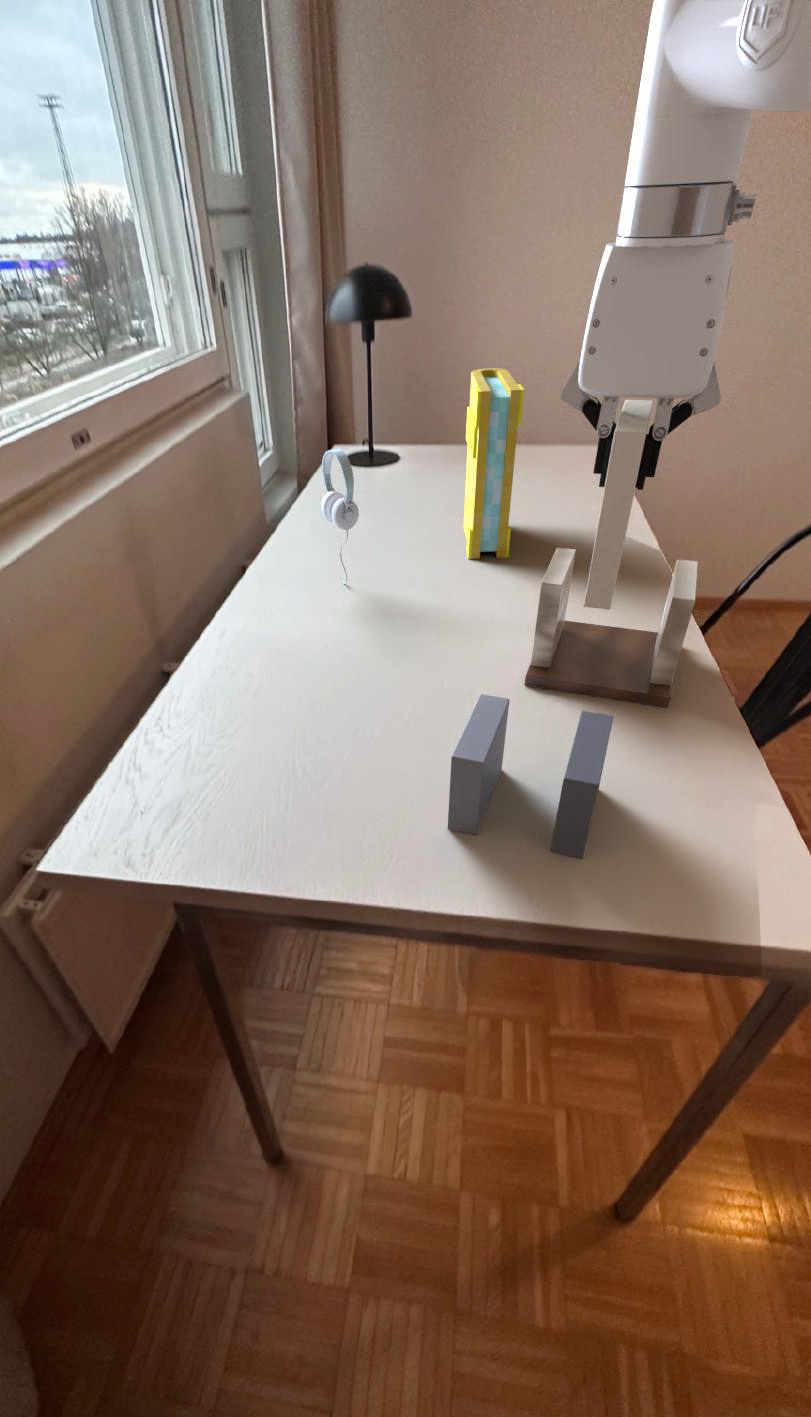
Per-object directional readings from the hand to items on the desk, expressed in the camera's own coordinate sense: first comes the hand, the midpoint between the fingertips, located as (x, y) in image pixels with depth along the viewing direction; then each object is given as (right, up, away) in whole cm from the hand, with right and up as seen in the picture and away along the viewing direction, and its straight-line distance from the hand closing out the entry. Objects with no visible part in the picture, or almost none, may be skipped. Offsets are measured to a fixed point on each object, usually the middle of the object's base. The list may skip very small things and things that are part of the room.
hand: (622, 481), depth 63 cm
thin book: (0, -7, +6) cm, 10 cm away
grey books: (-7, -29, +8) cm, 31 cm away
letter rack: (+8, -11, +29) cm, 32 cm away
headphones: (-26, +6, +51) cm, 58 cm away
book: (-2, +18, +63) cm, 65 cm away
